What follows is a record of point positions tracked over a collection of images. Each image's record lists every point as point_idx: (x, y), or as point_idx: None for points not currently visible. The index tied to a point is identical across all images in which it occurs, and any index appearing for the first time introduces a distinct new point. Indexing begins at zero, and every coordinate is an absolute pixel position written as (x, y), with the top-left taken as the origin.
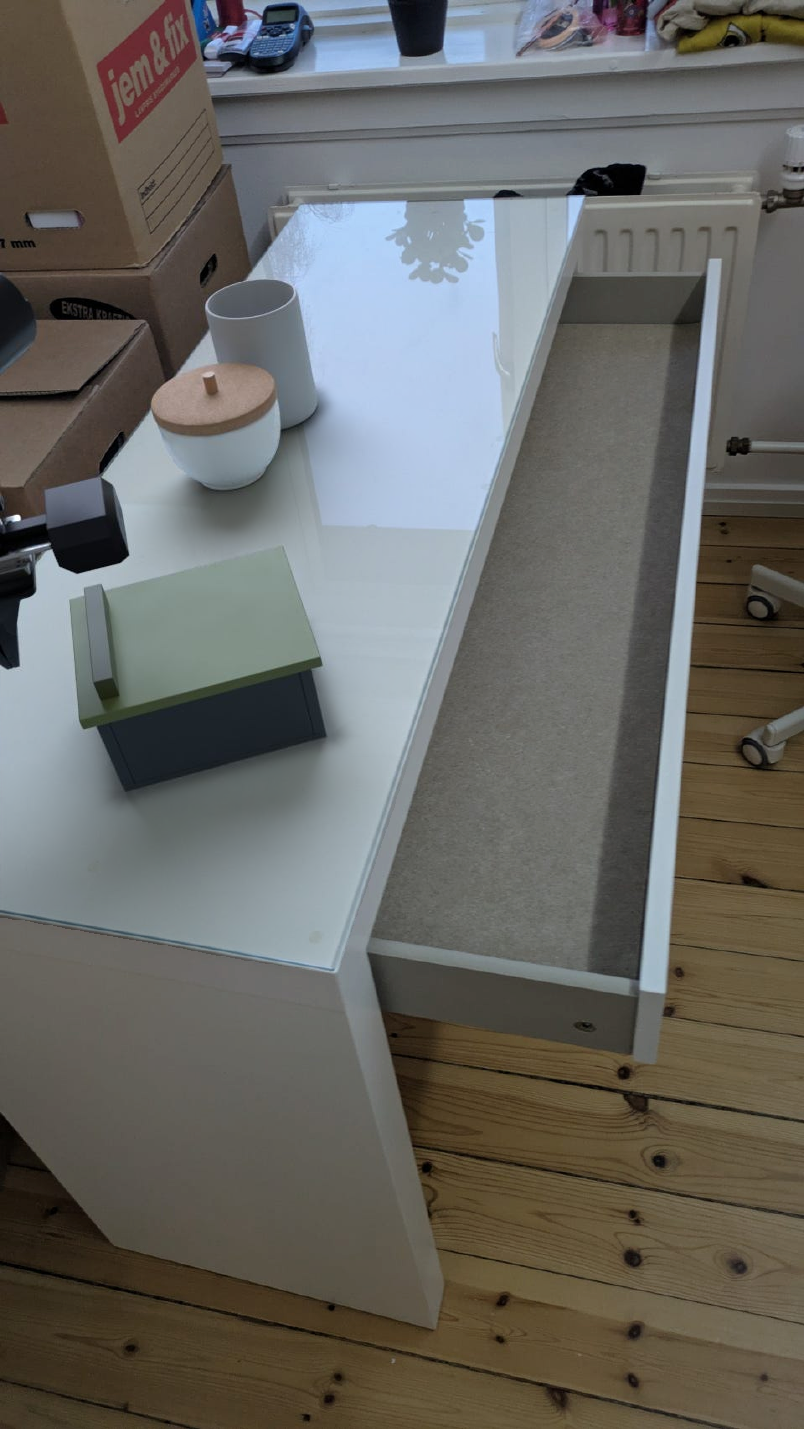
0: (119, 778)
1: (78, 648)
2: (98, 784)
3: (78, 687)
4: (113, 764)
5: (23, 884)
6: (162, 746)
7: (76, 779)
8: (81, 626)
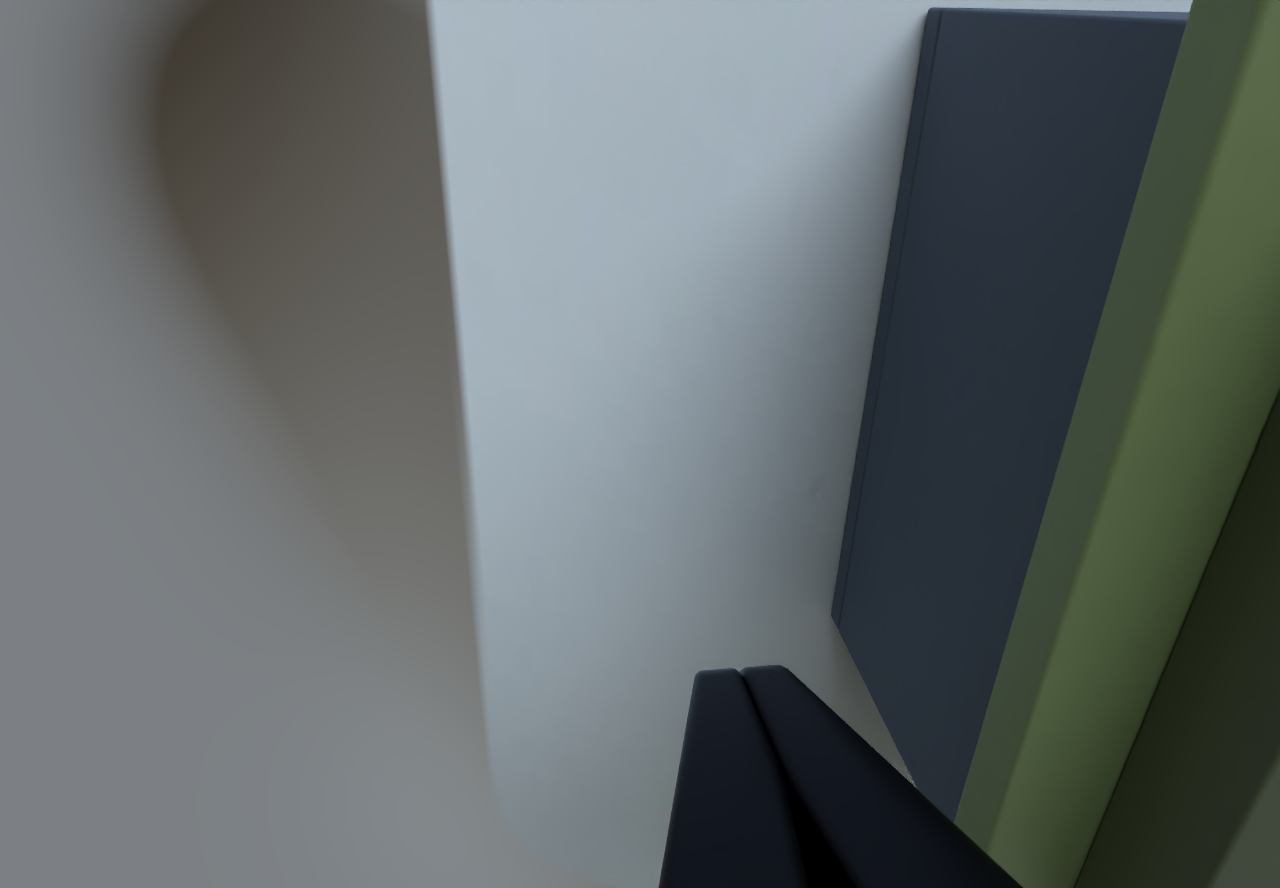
0: (852, 656)
1: (1106, 588)
2: (760, 565)
3: (1002, 834)
4: (878, 709)
5: (526, 811)
6: None
7: (695, 527)
8: (1206, 379)
